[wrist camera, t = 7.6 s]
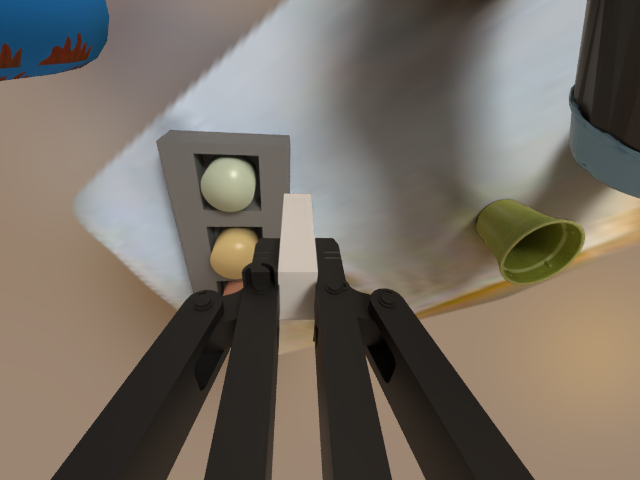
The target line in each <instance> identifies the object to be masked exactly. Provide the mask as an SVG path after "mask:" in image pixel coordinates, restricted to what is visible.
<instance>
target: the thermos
mask: <svg viewBox="0 0 640 480" xmlns="http://www.w3.org/2000/svg"><path fill="white" fill-rule="evenodd" d="M108 24H109V14H108V9H107V5H106V1H105V0H0V81H2V80H11V79H19V78H27V77H34V76H42V75H50V74H56V73H60V72H64V71H69V70H73V69H77V68H81V67H83V66H84V65H86V64H88V63H89V62H91V61H93V60H94V59H96V58H97V57H98V55H99V54H100V52H101V50H102V49H103V47H104V45H105V43H106V41H107V36H108Z"/></svg>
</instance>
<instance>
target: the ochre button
mask: <svg viewBox="0 0 640 480" xmlns="http://www.w3.org/2000/svg"><path fill="white" fill-rule="evenodd" d="M259 240H260V239H259V236H258V234H257V233H256V231H255V230H253V229H252V228H251V227H223V228H222V229H221V230H220V232H219V233H218V236H217V239H216V242H215V245H214V248H213V251H212V254H211V257H210V263H211V266H212V268H213V269H214V270H215V272H217V273H218V274H219V275H221V276H223V277H225V278H229V279H242V270H243V268H244V267H245V266H247V265H248V264H250V263H252V260H253V255H254V249H255V244H256V243H257V242H258V241H259Z"/></svg>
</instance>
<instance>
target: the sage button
mask: <svg viewBox="0 0 640 480" xmlns="http://www.w3.org/2000/svg"><path fill="white" fill-rule="evenodd" d="M256 181H257V171H256V168H255V165H254V164H253V162H252V161H251V160H250V159H249V158H248V157H247V156H245V155H223V154H218V155H216V156H215V157H214V158H213V160H212V161H211V163H210V165H209V166H208V168H207V170H206V171H205V173H204V175H203V177H202V179H201V191H202V194H203V196H204V198H205V199H206V200H207V201H208V203H209V204H211V205H212V206H213V207H215V208H217V209H219V210H222V211H226V212H236V211H240V210H242V209H244V208H246V207H247V206H248V205H249V204H250V203H251V201H252V199H253V197H254V192H255V186H256Z"/></svg>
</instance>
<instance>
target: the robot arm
mask: <svg viewBox="0 0 640 480" xmlns="http://www.w3.org/2000/svg"><path fill="white" fill-rule="evenodd" d="M569 105H570V108H571V111H572V113H571V126H570V139H569V143H570V149H571V152H572V155H573V157H574V159H575V160H576V162H577V163H578V164H579V165H580V166H581V167H582V168H584V169H585V170H587V171H589V172H590V173H591V175H592V177H593V178H595V179H596V180H598V181H599V182H601V183H603V184H605V185H607V186H609V187H611V188H613V189H615V190H618V191H620V192H623V193H625V194H628V195H631V196H634V197H637V198H640V0H587V5H586V12H585V19H584V26H583V32H582V39H581V46H580V53H579V60H578V66H577V73H576V80H575V85H574V86H573V87H572V88H571V91H570V95H569ZM242 280H243V288H242V289H241V290H239V291H237V292H235V293H232V294H229V295H224V296H221V295H220V294H219V293H218V292H216V291H213V290H202V291H198V292H196V293H194V294H192V295H191V296H190V297H189V298H188V299H186V301H185V302H184V303H183V305H182V306H181V307H180V309H179V310H178V311H177V313H176V314H175V315H174V317H173V318H172V319H171V321H170V322H169V323H168V325H167V326H166V327H165V329H164V330H163V331H162V333H161V334H160V335H159V337H158V338H157V339H156V341H155V342H154V343H153V345H152V346H151V347H150V349H149V350H148V351H147V352H146V354H145V355H144V356H143V358H142V359H141V360H140V362H139V363H138V365H137V366H136V367H135V368H134V370H133V371H132V372H131V374H130V375H129V376H128V378H127V379H126V380H125V382H124V383H123V384H122V386H121V387H120V388H119V390H118V391H117V392H116V394H115V395H114V396H113V398H112V399H111V400H110V402H109V403H108V404H107V406H106V407H105V408H104V410H103V411H102V412H101V414H100V415H99V416H98V418H97V419H96V420H95V422H94V423H93V424H92V425H91V427H90V428H89V429H88V431H87V432H86V434H85V435H84V436H83V437H82V439H81V440H80V441H79V443H78V444H77V445H76V447H75V448H74V449H73V451H72V452H71V453H70V455H69V456H68V458H67V459H66V460H65V461H64V463H63V464H62V465H61V467H60V468H59V470H58V471H57V472H56V473H55V475H54V476H53V477H52V479H51V480H166V479H167V477H168V475H169V473H170V471H171V469H172V467H173V465H174V463H175V461H176V459H177V456H178V455H179V453H180V450H181V448H182V446H183V444H184V442H185V440H186V438H187V436H188V434H189V432H190V430H191V428H192V426H193V424H194V422H195V420H196V418H197V416H198V414H199V412H200V409H201V407H202V405H203V403H204V401H205V399H206V397H207V395H208V393H209V391H210V389H211V387H212V385H213V383H214V381H215V379H216V377H217V375H218V372H219V371H220V368H221V366H222V364H223V362H224V360H225V358H226V356H227V354H228V352H229V350H230V347H231V351H230V356H229V362H228V366H227V371H226V376H225V381H224V385H223V390H222V395H221V400H220V405H219V410H218V414H217V419H216V425H215V429H214V434H213V439H212V444H211V448H210V453H209V458H208V463H207V468H206V473H205V478H204V480H271V478H272V458H273V441H274V440H273V439H274V421H275V404H276V385H277V365H278V348H279V320H303V319H314V318H315V325H314V337H313V341H315V353H316V370H317V371H316V372H317V389H318V405H319V423H320V441H321V458H322V474H323V480H392V478H391V473H390V468H389V463H388V459H387V454H386V450H385V445H384V440H383V436H382V431H381V426H380V422H379V417H378V412H377V408H376V403H375V398H374V394H373V389H372V384H371V380H370V375H369V371H368V366H367V361H366V357H367V359H368V361H369V363H370V365H371V367H372V369H373V371H374V373H375V375H376V377H377V380H378V381H379V384H380V386H381V388H382V390H383V392H384V394H385V396H386V398H387V400H388V402H389V404H390V406H391V408H392V411H393V413H394V415H395V417H396V419H397V421H398V423H399V425H400V427H401V429H402V431H403V433H404V435H405V437H406V439H407V442H408V444H409V446H410V448H411V450H412V452H413V454H414V456H415V458H416V460H417V462H418V464H419V466H420V468H421V471H422V473H423V475H424V477H425V479H426V480H535V479H534V478H533V477H532V475H531V474H530V473H529V471H528V470H527V468H526V467H525V466H524V464H523V463H522V462H521V460H520V459H519V457H518V456H517V455H516V453H515V452H514V451H513V449H512V448H511V446H510V445H509V444H508V442H507V441H506V439H505V438H504V437H503V435H502V434H501V433H500V431H499V430H498V428H497V427H496V426H495V424H494V423H493V422H492V420H491V419H490V417H489V416H488V415H487V413H486V412H485V411H484V409H483V408H482V406H481V405H480V404H479V402H478V401H477V399H476V398H475V397H474V396H473V394H472V393H471V391H470V390H469V388H468V387H467V386H466V384H465V383H464V382H463V380H462V379H461V377H460V376H459V375H458V374H457V372H456V371H455V369H454V368H453V366H452V365H451V364H450V362H449V361H448V360H447V358H446V357H445V355H444V354H443V353H442V352H441V350H440V349H439V347H438V346H437V344H436V343H435V342H434V340H433V339H432V337H431V336H430V335H429V333H428V332H427V331H426V329H425V328H424V327H423V325H422V324H421V322H420V321H419V320H418V318H417V317H416V315H415V314H414V313H413V311H412V310H411V309H410V307H409V306H408V304H407V303H406V302H405V300H404V299H403V298H402V297H401V296H400V295H399V294H398V293H397V292H395V291H393V290H390V289H378V290H375V291H374V292H373V293H372V294H371V295H369V294H365V293H361V292H359V291H356V290H354V289H353V288H351V287H350V285H349V283H348V282H346V279H345V275H344V270H343V265H342V260H341V255H340V250H339V245H338V244H337V242H336V241H335V240H334V239H333V238H315V235H314V224H313V213H312V203H311V194H285V193H284V201H283V213H282V226H281V238H261V239H260V240H259V241H258V242H257V243H256V244H255V249H254V255H253V260H252V263H250V264H248V265H247V266H245V267H244V268H243V270H242ZM365 355H366V356H365Z"/></svg>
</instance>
